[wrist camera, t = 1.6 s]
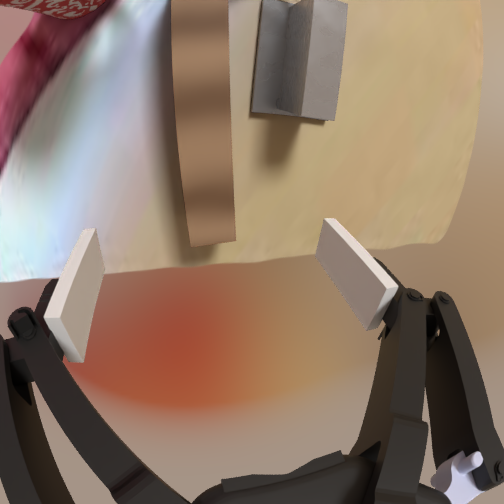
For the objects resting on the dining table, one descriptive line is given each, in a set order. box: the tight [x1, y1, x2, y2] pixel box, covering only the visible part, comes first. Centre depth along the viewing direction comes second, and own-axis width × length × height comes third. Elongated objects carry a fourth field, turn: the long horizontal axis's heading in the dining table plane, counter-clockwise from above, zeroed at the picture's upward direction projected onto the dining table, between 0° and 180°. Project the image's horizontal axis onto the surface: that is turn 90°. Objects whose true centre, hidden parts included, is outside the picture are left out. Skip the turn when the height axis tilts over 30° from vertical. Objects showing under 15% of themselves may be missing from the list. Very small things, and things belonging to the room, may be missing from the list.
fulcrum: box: [251, 0, 348, 121], centre depth 19 cm, size 8×12×6 cm, turn 175°
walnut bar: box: [171, 0, 236, 247], centre depth 20 cm, size 24×4×6 cm, turn 1°
